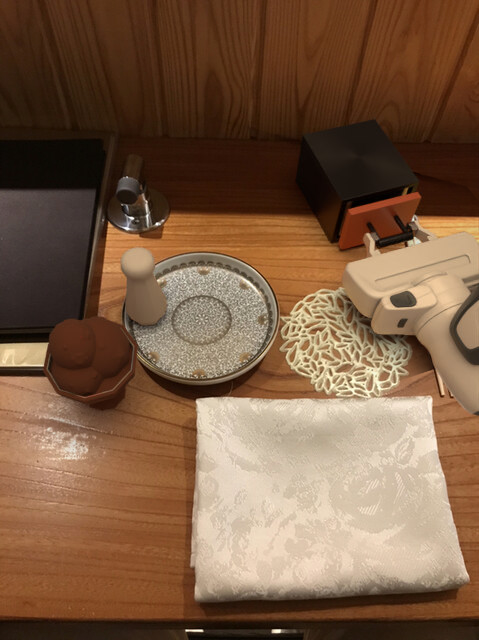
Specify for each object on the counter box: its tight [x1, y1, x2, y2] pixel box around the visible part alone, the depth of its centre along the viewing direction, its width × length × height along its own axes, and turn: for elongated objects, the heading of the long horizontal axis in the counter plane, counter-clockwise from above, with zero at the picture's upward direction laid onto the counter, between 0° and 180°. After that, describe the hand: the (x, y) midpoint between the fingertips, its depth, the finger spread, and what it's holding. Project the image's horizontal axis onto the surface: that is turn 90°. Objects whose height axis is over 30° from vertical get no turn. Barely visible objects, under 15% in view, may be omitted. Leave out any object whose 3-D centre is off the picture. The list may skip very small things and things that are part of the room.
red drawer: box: [337, 188, 422, 250], centre depth 86 cm, size 18×11×8 cm, turn 19°
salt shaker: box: [120, 246, 168, 327], centre depth 75 cm, size 6×6×13 cm
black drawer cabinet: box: [295, 118, 420, 244], centre depth 89 cm, size 15×13×10 cm
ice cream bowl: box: [42, 315, 139, 412], centre depth 67 cm, size 11×11×15 cm
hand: (388, 229), depth 82 cm, fingers closed on red drawer, 5 cm apart
